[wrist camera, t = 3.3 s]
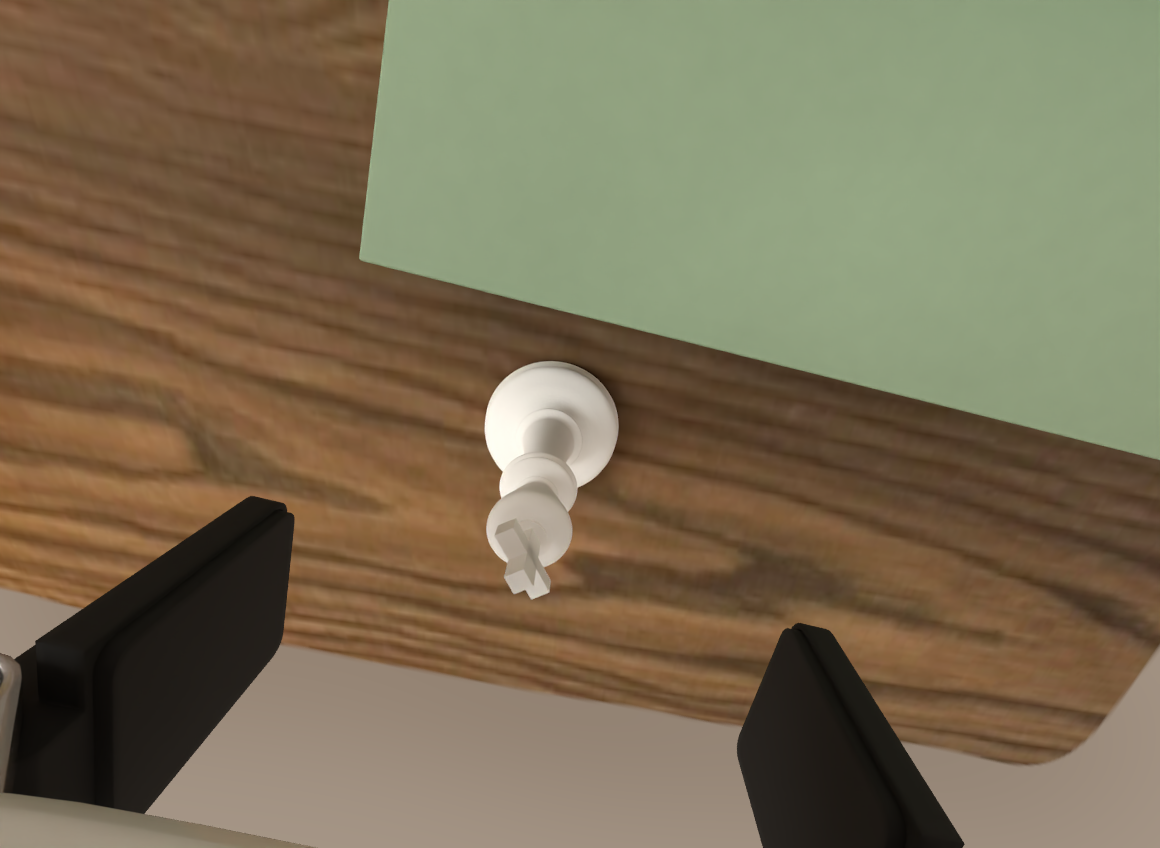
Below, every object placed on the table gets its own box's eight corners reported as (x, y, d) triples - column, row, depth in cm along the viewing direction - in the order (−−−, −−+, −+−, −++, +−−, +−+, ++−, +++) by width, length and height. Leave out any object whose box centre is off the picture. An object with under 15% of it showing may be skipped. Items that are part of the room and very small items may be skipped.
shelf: (441, 256, 19) (319, 262, 10) (497, -101, 16) (390, -504, 7) (989, 394, 20) (1283, 501, 11) (1140, 85, 17) (1693, -79, 8)
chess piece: (522, 506, 21) (469, 712, 12) (462, 395, 20) (346, 526, 11) (639, 456, 21) (681, 633, 11) (584, 338, 19) (578, 424, 10)
